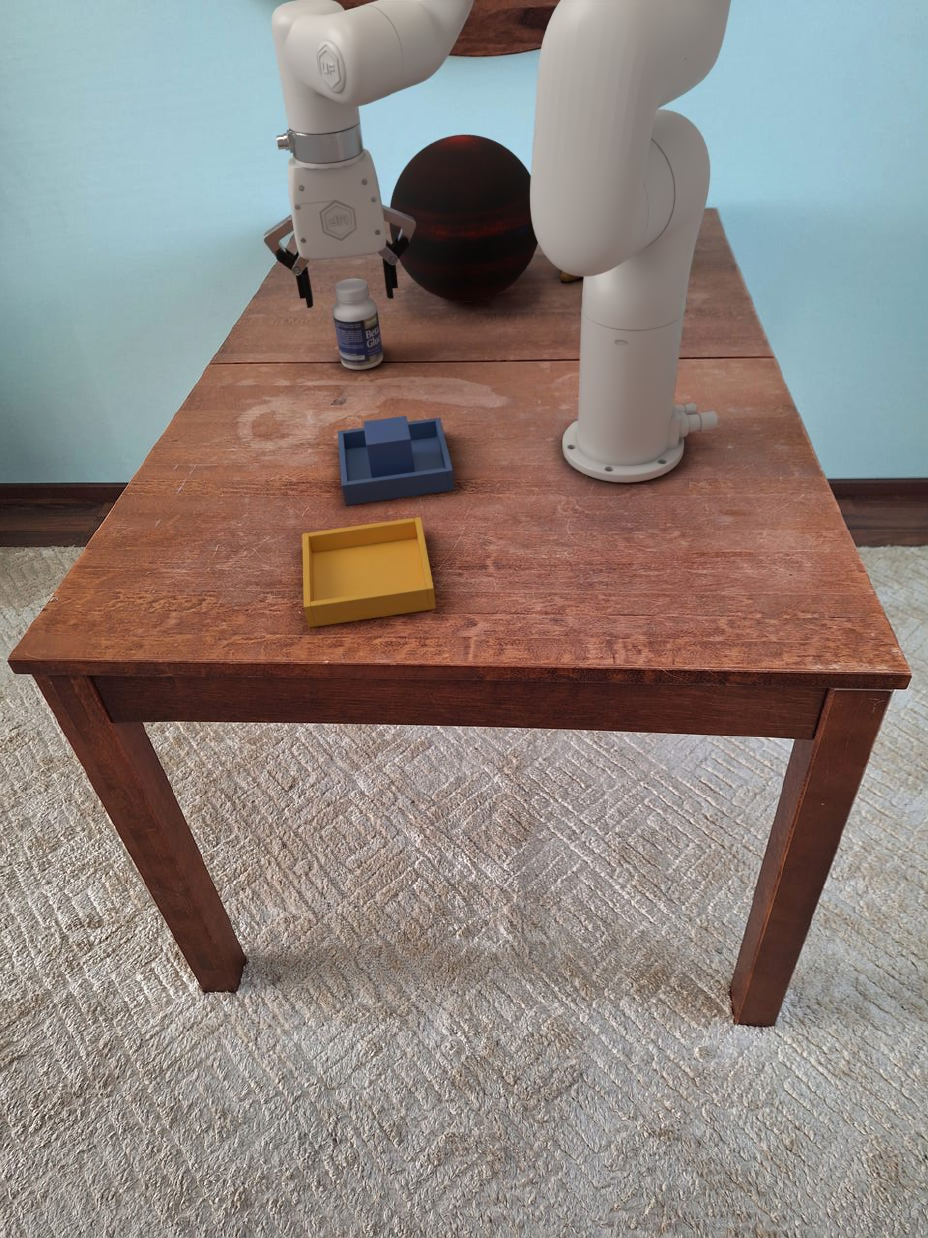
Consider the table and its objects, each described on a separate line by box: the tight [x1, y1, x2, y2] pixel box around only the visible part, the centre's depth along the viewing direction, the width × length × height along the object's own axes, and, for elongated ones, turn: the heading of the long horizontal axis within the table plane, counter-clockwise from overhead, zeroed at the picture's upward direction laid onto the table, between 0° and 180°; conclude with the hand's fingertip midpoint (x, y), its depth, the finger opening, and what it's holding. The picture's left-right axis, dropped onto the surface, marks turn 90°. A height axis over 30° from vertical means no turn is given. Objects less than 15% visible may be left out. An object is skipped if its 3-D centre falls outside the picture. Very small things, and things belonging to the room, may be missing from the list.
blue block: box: [363, 415, 415, 478], centre depth 90 cm, size 4×4×4 cm
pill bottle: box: [332, 277, 384, 371], centre depth 106 cm, size 5×5×10 cm
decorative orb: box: [388, 134, 539, 303], centre depth 114 cm, size 20×20×20 cm
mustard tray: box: [301, 516, 437, 628], centre depth 78 cm, size 11×10×2 cm
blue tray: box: [337, 417, 456, 506], centre depth 91 cm, size 11×10×2 cm
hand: (350, 298), depth 104 cm, fingers open, 9 cm apart
